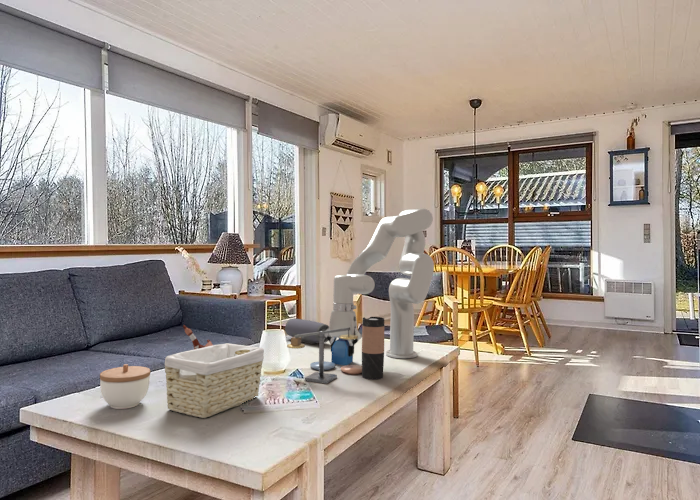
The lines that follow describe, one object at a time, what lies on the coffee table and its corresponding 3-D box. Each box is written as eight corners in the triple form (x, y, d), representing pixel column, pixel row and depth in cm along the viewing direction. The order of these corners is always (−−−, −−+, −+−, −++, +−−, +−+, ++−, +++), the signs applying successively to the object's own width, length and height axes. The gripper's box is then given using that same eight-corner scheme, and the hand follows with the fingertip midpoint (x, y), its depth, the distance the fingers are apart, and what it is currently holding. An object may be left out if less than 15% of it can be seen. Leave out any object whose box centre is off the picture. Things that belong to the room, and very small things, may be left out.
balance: (293, 372, 171) (294, 320, 171) (360, 380, 162) (361, 326, 161) (281, 377, 164) (282, 324, 163) (351, 387, 154) (352, 330, 154)
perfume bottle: (331, 363, 184) (331, 331, 184) (337, 360, 190) (338, 329, 190) (346, 365, 182) (347, 333, 182) (352, 361, 187) (353, 330, 187)
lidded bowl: (117, 416, 125) (117, 373, 125) (89, 406, 132) (90, 365, 132) (159, 403, 136) (160, 363, 136) (132, 394, 143) (132, 357, 143)
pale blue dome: (316, 363, 184) (316, 360, 184) (338, 366, 180) (338, 363, 180) (305, 369, 175) (306, 365, 175) (328, 371, 172) (328, 368, 172)
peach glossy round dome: (346, 367, 179) (346, 363, 179) (369, 369, 176) (369, 366, 176) (336, 372, 171) (336, 369, 171) (360, 375, 167) (360, 372, 167)
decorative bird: (176, 356, 177) (193, 318, 177) (223, 375, 178) (240, 337, 179) (151, 377, 148) (171, 332, 149) (207, 400, 150) (227, 355, 150)
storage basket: (224, 389, 150) (225, 341, 150) (266, 397, 143) (266, 347, 142) (160, 411, 129) (161, 356, 129) (205, 423, 122) (206, 364, 121)
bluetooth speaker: (332, 344, 220) (332, 322, 220) (316, 347, 213) (317, 324, 213) (299, 337, 236) (299, 316, 235) (283, 339, 229) (284, 318, 229)
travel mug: (382, 380, 162) (383, 320, 162) (359, 378, 164) (360, 319, 164) (385, 374, 170) (386, 317, 170) (363, 373, 171) (364, 316, 171)
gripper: (367, 308, 186) (367, 355, 186) (326, 305, 192) (325, 350, 192) (360, 310, 179) (360, 359, 179) (318, 307, 185) (317, 354, 185)
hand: (342, 354), depth 186 cm, fingers closed on perfume bottle, 6 cm apart
